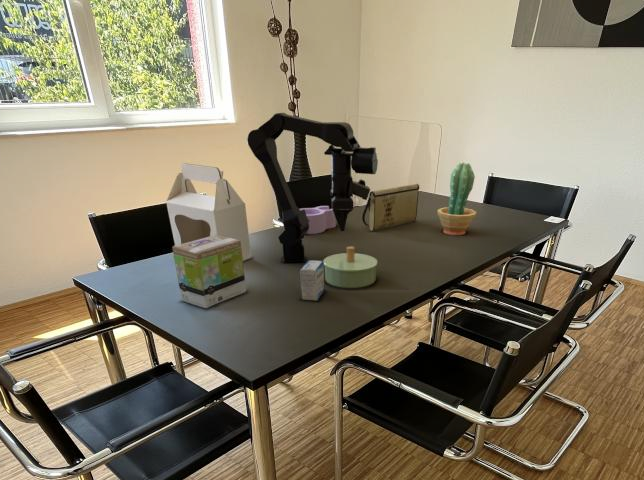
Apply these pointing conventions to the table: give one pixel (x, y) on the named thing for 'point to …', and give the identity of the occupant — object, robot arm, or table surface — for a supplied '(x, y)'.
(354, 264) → the pot lid
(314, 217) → the purple piece
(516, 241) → the table surface
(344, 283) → the pot
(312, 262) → the medicine box
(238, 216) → the gable box
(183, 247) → the tea box
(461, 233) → the potted cactus
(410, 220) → the clutch purse
